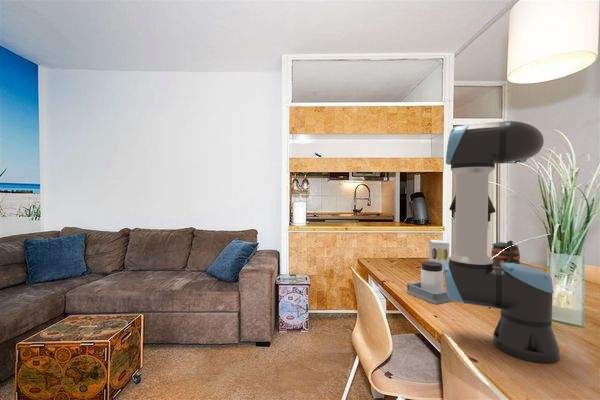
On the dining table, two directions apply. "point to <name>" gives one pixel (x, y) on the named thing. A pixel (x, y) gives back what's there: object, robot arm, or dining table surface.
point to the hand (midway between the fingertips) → (470, 227)
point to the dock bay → (427, 294)
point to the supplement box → (439, 252)
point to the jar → (432, 277)
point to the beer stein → (505, 254)
